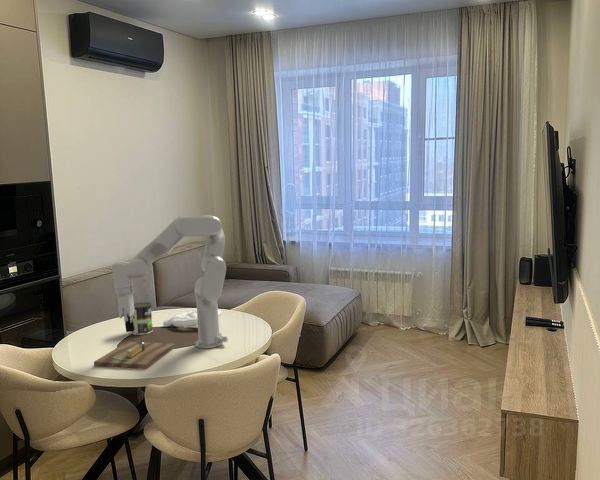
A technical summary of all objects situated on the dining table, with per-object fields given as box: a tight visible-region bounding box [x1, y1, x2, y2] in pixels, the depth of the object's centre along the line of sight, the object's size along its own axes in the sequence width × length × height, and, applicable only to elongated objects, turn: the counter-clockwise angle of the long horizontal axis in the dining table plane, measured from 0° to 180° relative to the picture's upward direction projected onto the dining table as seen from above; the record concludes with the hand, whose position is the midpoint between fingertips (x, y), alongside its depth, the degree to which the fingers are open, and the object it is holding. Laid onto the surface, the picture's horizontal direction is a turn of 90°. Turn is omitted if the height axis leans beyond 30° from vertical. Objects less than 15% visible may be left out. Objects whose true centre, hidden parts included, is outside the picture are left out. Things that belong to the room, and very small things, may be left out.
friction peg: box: [127, 341, 146, 358], centre depth 229 cm, size 12×3×4 cm, turn 169°
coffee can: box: [131, 302, 154, 336], centre depth 267 cm, size 10×10×14 cm
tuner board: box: [93, 341, 176, 370], centre depth 231 cm, size 24×26×2 cm
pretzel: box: [162, 309, 222, 327], centre depth 278 cm, size 28×24×6 cm
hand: (130, 331), depth 231 cm, fingers closed
